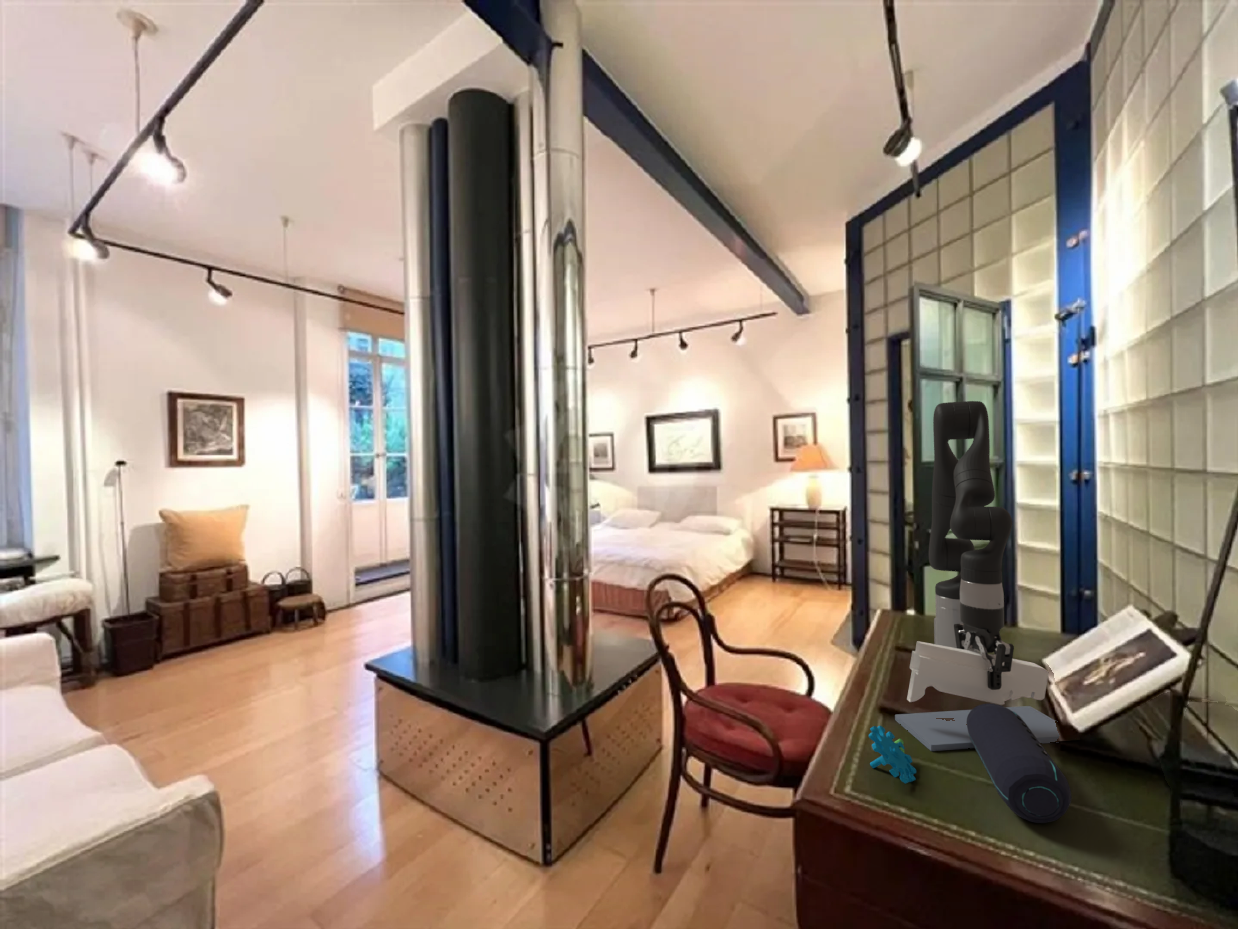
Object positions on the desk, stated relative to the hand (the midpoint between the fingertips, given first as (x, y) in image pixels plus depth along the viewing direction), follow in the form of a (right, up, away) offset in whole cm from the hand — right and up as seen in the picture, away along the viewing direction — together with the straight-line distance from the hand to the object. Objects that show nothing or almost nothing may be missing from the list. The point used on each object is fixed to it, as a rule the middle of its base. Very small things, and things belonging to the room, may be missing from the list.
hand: (982, 682), depth 109 cm
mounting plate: (0, -10, 0) cm, 10 cm away
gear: (-25, -12, -13) cm, 31 cm away
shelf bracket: (-1, -4, 0) cm, 4 cm away
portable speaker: (-7, -11, -17) cm, 22 cm away
